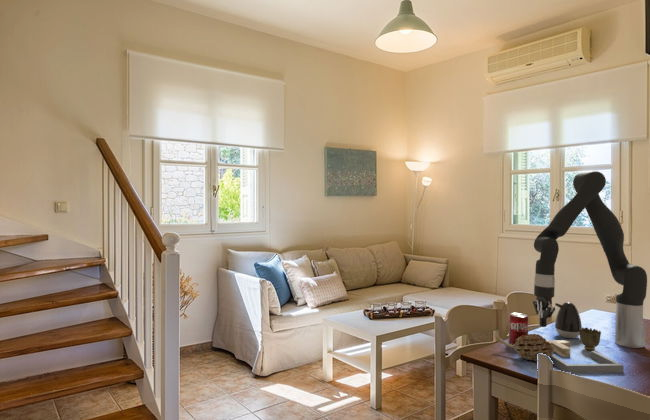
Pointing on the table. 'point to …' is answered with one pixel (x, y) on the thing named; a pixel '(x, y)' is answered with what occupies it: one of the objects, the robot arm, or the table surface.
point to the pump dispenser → (568, 321)
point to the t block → (560, 347)
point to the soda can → (517, 326)
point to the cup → (589, 338)
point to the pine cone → (530, 346)
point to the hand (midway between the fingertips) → (542, 326)
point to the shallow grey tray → (590, 365)
